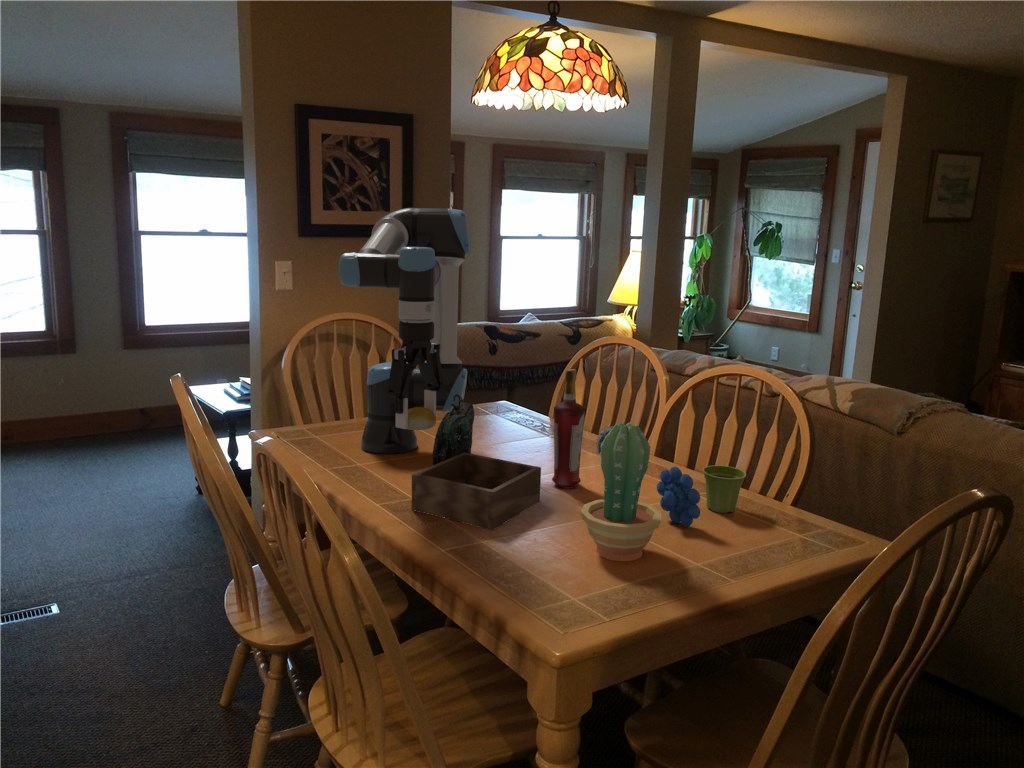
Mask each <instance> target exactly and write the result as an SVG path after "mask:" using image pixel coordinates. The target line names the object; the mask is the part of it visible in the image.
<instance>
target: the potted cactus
mask: <svg viewBox="0 0 1024 768" xmlns="http://www.w3.org/2000/svg"><path fill="white" fill-rule="evenodd" d="M595 444H596V445H597V446H596V448H597V450H596V452H597V454H598V455H600V467H601V471H602V475H603V478H604V479H603V480H604V482H603V483H604V485H603V486H604V487H603V490H604V491H603V499H595V500H593V501H590V502H587V503H585V504H584V503H583V506H582V508H581V510H580V514H581V519H582V520H583V521H584V523H585V525H586V527H587V530H588V535H589V536H590V537H591V539H592V540H593V542H594V543H595V545H596V550H595V552H596V553H597V554H598V555H599V556H600V557H602V558H605V559H607V560H610V561H616V562H617V561H618V562H631V561H636V560H638V559H640V558H642V557H643V552H644V551H643V549H644V548H645V547H646V546H647V544H648V543H650V541H651V539H652V536H653V534H654V532H655V529H658V528H659V527H660V523H661V520H662V515H663V514H662V512H661V511H660V510H658V508H656V507H655V506H654V505H651V504H647V503H644V502H641V501H639V499H640V492H641V489H642V488H641V487H642V482H643V480H644V477H645V476H646V473H647V471H648V468H649V461H650V452H651V445H650V442H649V440H648V439H647V437H646V436H645V434H644V433H643V431H642V429H641V428H640V426H639V424H635V425H634V424H633V422H627V423H626V424H625V423H623V422H618V423H615V424H614V425H612V426H608V427H606V429H605V428H604V429H603V430H602V431H601V432H600V433H599V435H598V437H597V439H596V442H595Z"/></svg>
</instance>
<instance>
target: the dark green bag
mask: <svg viewBox="0 0 1024 768" xmlns="http://www.w3.org/2000/svg"><path fill="white" fill-rule="evenodd" d="M456 396H458V399H459V403H458V402H457V403H455V404H451V405H452V408H451V411H447V413H445V415H444V416H443V417H442V419H441V421H440V423H439V425H438V427H437V430H436V433H435V437H434V443H433V450H432V466H433V465H436V464H438V463H440V462H443V461H445V460H447V459H450V458H452V457H455V456H457V455H459V454H462V453H464V452H465V453H470V454H472V446H473V425H474V421H475V409H474V404H472V403H469V402H465V401H464V399H462V398H461V397H460V396H459V395H458V394H455V395H454V396H453V401H455V398H456Z"/></svg>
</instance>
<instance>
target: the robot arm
mask: <svg viewBox="0 0 1024 768" xmlns="http://www.w3.org/2000/svg"><path fill="white" fill-rule="evenodd" d="M469 227H470V226H469V221H468V217H467V214H466V212H465V211H464V210H462V209H455V208H439V207H438V208H437V207H436V208H434V207H433V208H431V207H427V208H425V207H424V208H423V207H421V208H420V207H405V208H401V209H397V210H395V211H392V212H390V213H388V214H386V215H384V216H382V217H380V219H379V220H378V221H376V222H375V224H374V226H373V227H372V230H371V236H369V238H368V239H367V241H366V243H365V244H364V245H363V247H361V249H360V250H359V251H358V252H353V251H352V252H345V253H343V254H341V255H340V257H339V262H338V276H339V277H338V278H339V281H340V284H341V285H343V286H345V287H352V288H353V287H354V288H357V289H359V288H364V289H365V288H367V289H368V288H370V289H371V288H372V289H374V288H375V289H377V288H378V289H379V288H380V289H398V318H399V320H401V321H399V322H398V338H399V340H400V339H401V342H402V343H401V347H400V348H396V349H395V348H393V349H392V350H391V360H392V361H388V362H387V361H385V362H381V363H376V364H374V365H372V366H371V367H370V368H369V369H368V370H367V382H366V387H367V389H366V390H367V392H366V396H367V397H366V398H367V399H366V400H367V401H366V402H367V406H366V407H367V420H366V424H365V427H364V430H363V434H362V436H361V439H360V441H361V442H360V446H361V449H362V450H364V451H365V452H368V453H369V452H370V453H372V454H373V453H374V454H385V455H386V454H389V455H390V454H391V455H393V454H403V453H407V452H410V451H413V450H415V449H417V447H418V438H417V435H416V433H415V430H409V429H407V428H408V409H411V408H414V407H423V408H427V409H429V410H430V411H432V412H433V413H434V415H435V417H436V418H437V412H442V413H445V412H450V411H451V408H452V405H451V404H455V403H457V402H458V403H459V399H458V396H456V398H455V401H453V396H454V395H455V394H458V395H459V396H460V397H461V398H462V399H463V400H464V399H465V393H466V387H467V382H468V381H467V379H468V370H467V369H466V368H465V367H463V362H462V361H461V359H460V358H459V357H458V353H457V352H458V324H459V323H458V319H459V317H458V314H459V279H460V278H459V275H460V273H459V272H460V266H461V265H462V264H463V263H464V262H465V261H466V255H469V254H471V249H472V248H471V237H470V228H469Z"/></svg>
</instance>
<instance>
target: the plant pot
mask: <svg viewBox="0 0 1024 768" xmlns="http://www.w3.org/2000/svg"><path fill="white" fill-rule="evenodd" d="M702 472H703V476H704V479H705V489H706V490H705V492H706V494H705V495H706V507H707V509H710V510H711V511H713V512H714V513H721V514H727V513H733V512H735V511H736V508H737V503H738V499H739V496H740V491H741V486H742V484H743V482H744V479H745V478H746V477H747V473H746V471H744V470H742V469H740V468H738V467H734V466H728V465H719V464H715V465H707V466H705V467H703V468H702Z"/></svg>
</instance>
